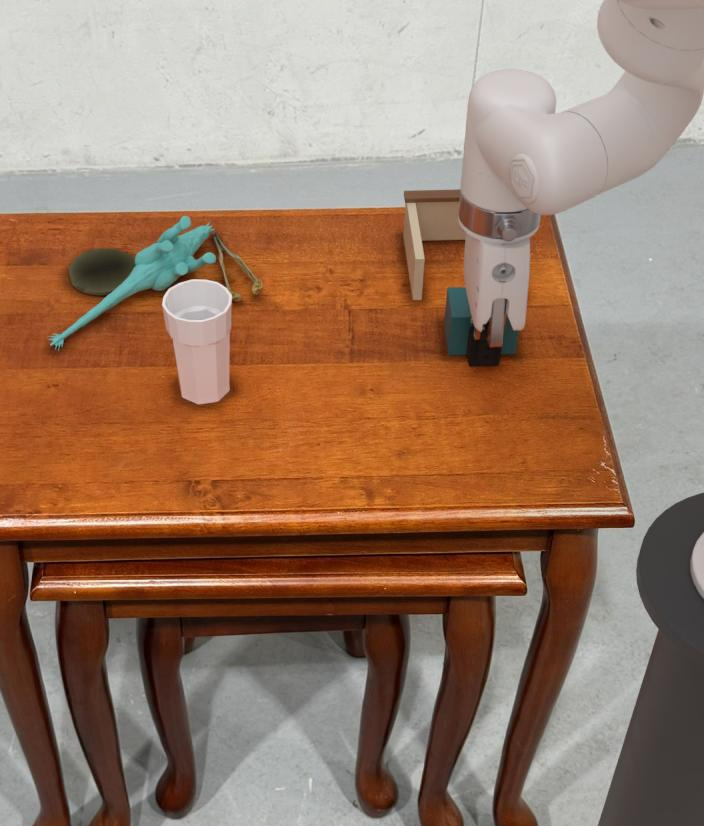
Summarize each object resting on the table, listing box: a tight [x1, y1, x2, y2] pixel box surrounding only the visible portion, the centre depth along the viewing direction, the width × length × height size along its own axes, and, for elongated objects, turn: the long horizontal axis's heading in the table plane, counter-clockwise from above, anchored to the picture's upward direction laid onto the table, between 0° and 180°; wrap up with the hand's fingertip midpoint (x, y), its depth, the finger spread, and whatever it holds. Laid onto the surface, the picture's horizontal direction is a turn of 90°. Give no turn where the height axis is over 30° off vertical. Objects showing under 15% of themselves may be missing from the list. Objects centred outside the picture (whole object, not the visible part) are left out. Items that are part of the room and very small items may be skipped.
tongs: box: [210, 231, 263, 303], centre depth 143 cm, size 4×13×2 cm, turn 25°
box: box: [443, 286, 520, 356], centre depth 133 cm, size 5×7×5 cm
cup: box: [161, 278, 233, 406], centre depth 126 cm, size 7×7×11 cm
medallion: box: [68, 247, 136, 296], centre depth 143 cm, size 8×8×1 cm
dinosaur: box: [47, 215, 217, 351], centre depth 138 cm, size 6×25×8 cm
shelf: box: [402, 188, 466, 301], centre depth 142 cm, size 12×12×6 cm
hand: (482, 361), depth 131 cm, fingers closed
